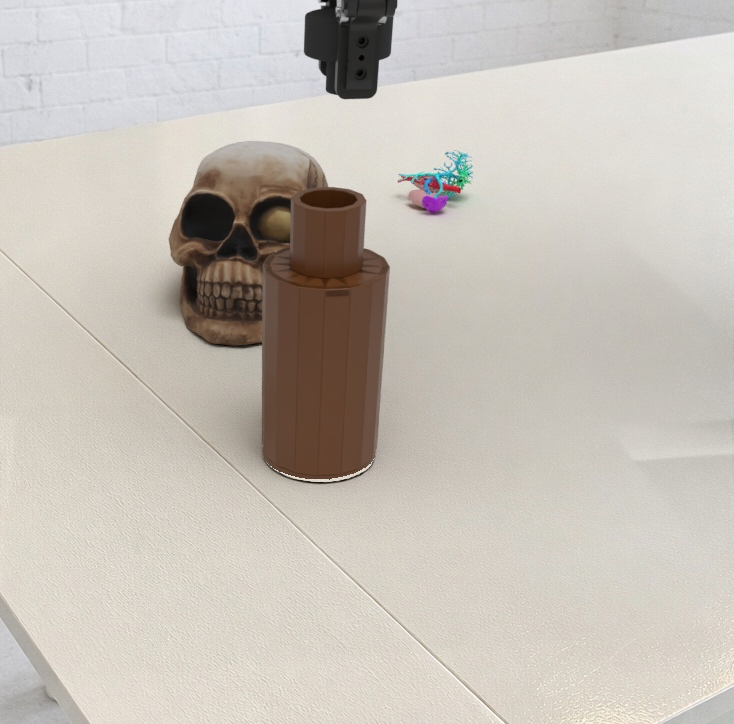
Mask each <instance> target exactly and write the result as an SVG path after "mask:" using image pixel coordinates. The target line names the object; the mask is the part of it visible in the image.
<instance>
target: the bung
mask: <svg viewBox="0 0 734 724" xmlns="http://www.w3.org/2000/svg"><path fill="white" fill-rule="evenodd" d="M335 10H336V7H335V8H324V9H321V8H318V9H313V10H310V11H308V12H306V13H305V14H304V34H303V54H304V55H305V56H306V57H308V58H310V59H313V60H316V61H319V60H320V61H326V62H327V70H326V76H325V77H326V78H325V92H326V93H328V94H330V95H333V96H334V95H335V96H338V95H337V93H336V91H335V68H336V48H337V27H338V21H337V17H336V15H335ZM381 25H382V26H381V41H380V55H379V61H383V60H385V59H387V58H389V57H390V56H391V54H392V44H393V43H392V42H393V29H394V16H393V17H387V19H386V23H385V24H381Z"/></svg>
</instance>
